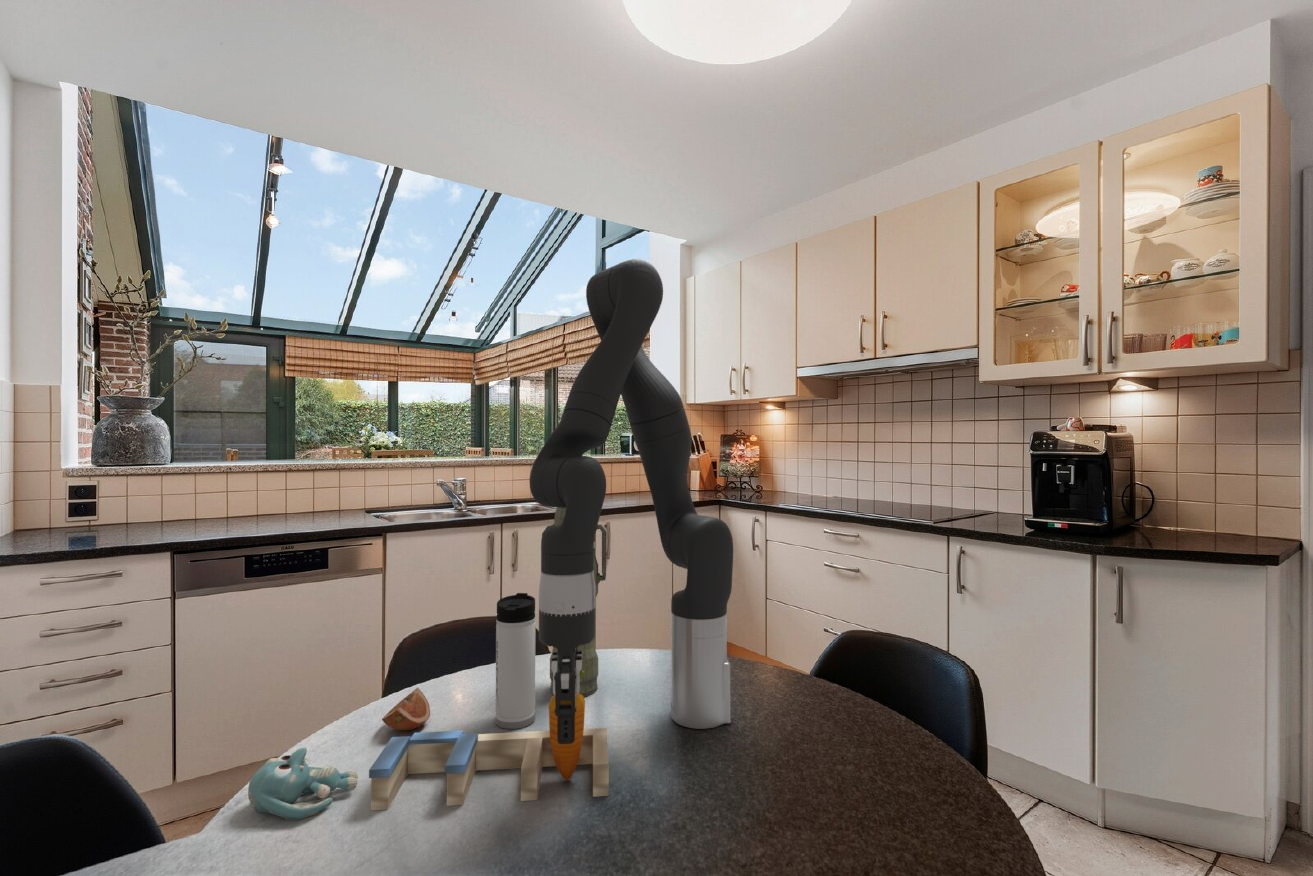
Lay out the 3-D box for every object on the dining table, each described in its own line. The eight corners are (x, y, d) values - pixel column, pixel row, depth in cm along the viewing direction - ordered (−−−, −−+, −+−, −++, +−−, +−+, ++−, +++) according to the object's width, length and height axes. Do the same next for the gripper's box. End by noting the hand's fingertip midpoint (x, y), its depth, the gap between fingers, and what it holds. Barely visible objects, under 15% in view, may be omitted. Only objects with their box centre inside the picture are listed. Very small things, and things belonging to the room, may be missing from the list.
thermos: (541, 682, 113) (542, 498, 114) (603, 678, 115) (604, 497, 116) (540, 701, 105) (541, 501, 105) (607, 696, 107) (608, 501, 108)
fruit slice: (416, 741, 90) (416, 708, 90) (371, 741, 90) (372, 708, 90) (436, 717, 98) (436, 686, 99) (396, 717, 98) (396, 686, 99)
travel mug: (540, 712, 100) (541, 593, 101) (528, 730, 94) (528, 602, 94) (504, 710, 101) (505, 592, 101) (489, 729, 94) (490, 601, 95)
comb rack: (606, 755, 86) (606, 720, 86) (608, 796, 76) (608, 756, 76) (396, 767, 83) (396, 730, 83) (368, 811, 72) (369, 770, 73)
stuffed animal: (363, 767, 73) (249, 769, 68) (350, 828, 72) (233, 835, 67) (365, 730, 83) (264, 730, 78) (353, 783, 82) (251, 787, 77)
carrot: (591, 774, 81) (592, 663, 81) (575, 794, 76) (575, 676, 76) (559, 768, 82) (559, 658, 83) (541, 787, 78) (541, 671, 78)
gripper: (595, 618, 73) (595, 759, 73) (595, 591, 87) (594, 708, 87) (533, 620, 72) (533, 762, 72) (543, 592, 86) (542, 711, 86)
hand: (567, 732), depth 79 cm, fingers closed on carrot, 4 cm apart
